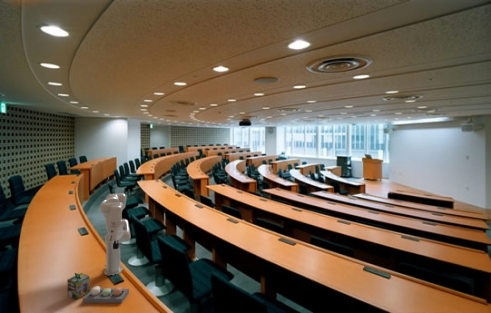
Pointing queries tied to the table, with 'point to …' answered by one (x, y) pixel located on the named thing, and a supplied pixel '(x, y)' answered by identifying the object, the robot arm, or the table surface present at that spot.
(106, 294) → the pale green rounded piece
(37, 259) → the table surface
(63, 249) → the table surface
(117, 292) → the pink rounded dome
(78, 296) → the chalk box
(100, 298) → the button board
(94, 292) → the white rounded piece
